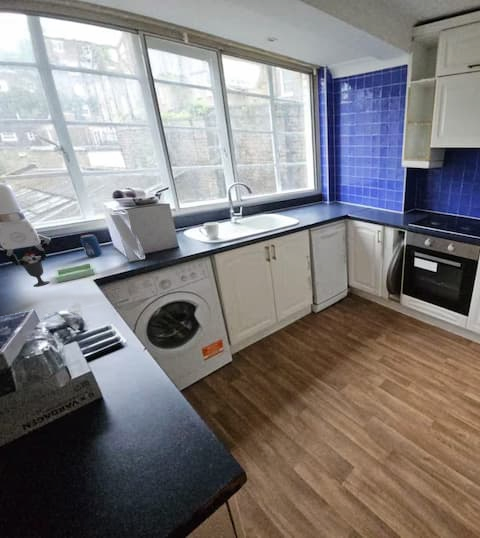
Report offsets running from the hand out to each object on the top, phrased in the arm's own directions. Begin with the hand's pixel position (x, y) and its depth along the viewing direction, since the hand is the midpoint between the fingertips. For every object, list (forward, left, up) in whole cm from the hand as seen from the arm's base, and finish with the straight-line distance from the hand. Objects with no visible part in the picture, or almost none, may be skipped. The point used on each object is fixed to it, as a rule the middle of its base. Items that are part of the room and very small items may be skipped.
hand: (31, 261), depth 117 cm
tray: (+9, +22, -16) cm, 28 cm away
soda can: (+18, +52, -16) cm, 57 cm away
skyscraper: (+34, +25, -16) cm, 45 cm away
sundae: (0, 0, -10) cm, 10 cm away
